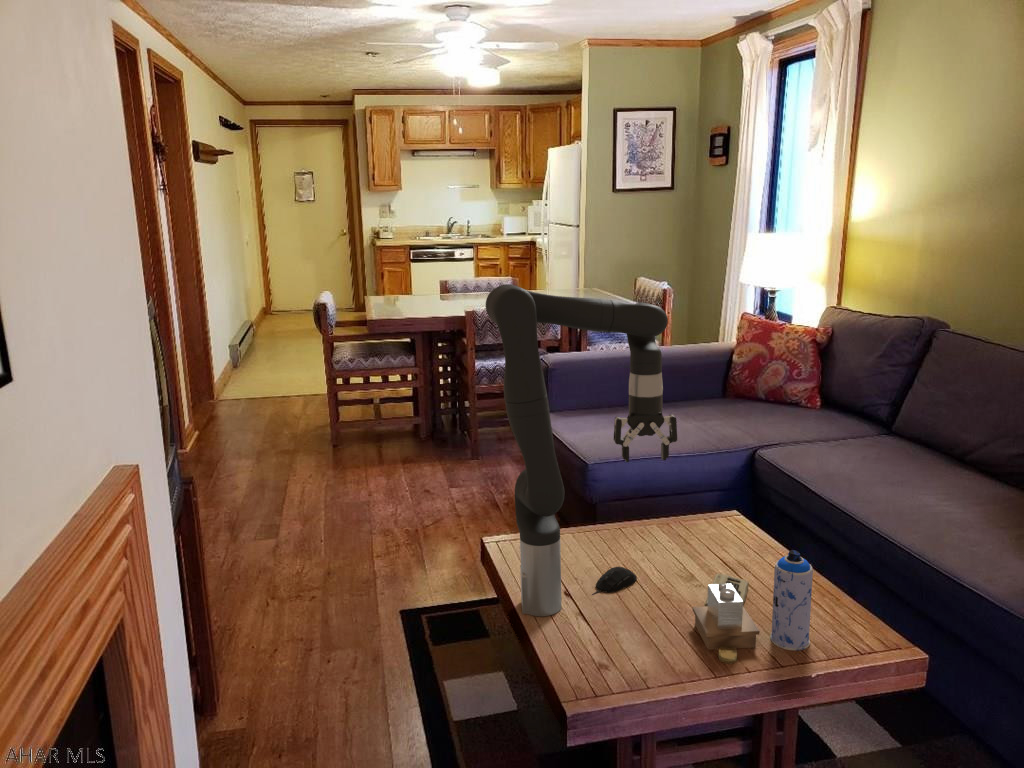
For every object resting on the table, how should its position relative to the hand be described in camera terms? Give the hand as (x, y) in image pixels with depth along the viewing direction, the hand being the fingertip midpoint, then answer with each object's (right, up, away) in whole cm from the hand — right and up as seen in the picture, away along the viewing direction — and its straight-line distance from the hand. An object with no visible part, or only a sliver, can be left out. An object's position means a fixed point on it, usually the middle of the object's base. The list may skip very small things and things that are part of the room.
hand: (645, 460), depth 179 cm
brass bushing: (+13, -38, -21) cm, 46 cm away
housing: (+15, -32, -14) cm, 38 cm away
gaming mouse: (-6, -32, +11) cm, 35 cm away
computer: (+19, -33, +2) cm, 39 cm away
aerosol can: (+28, -37, -15) cm, 49 cm away
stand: (+15, -36, -13) cm, 41 cm away
